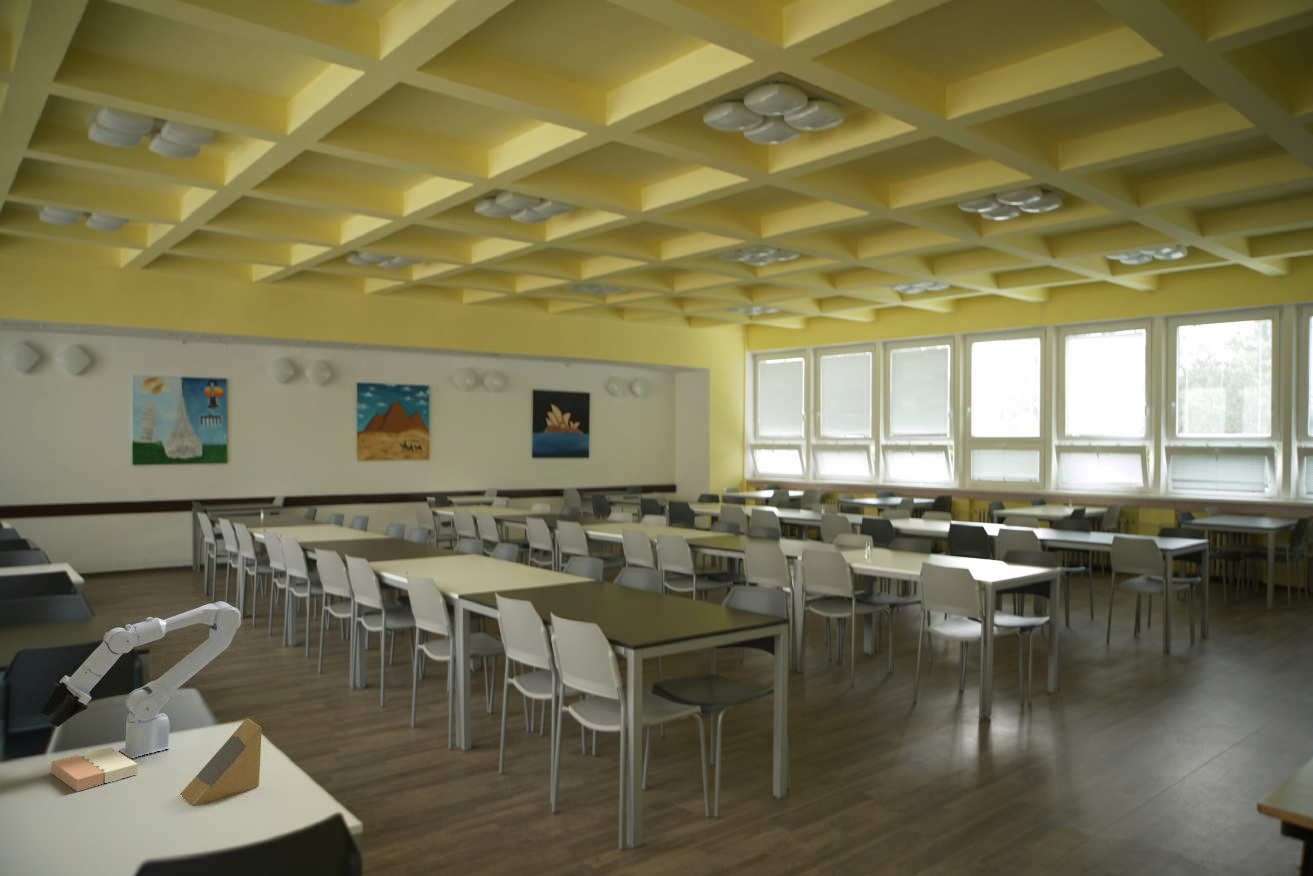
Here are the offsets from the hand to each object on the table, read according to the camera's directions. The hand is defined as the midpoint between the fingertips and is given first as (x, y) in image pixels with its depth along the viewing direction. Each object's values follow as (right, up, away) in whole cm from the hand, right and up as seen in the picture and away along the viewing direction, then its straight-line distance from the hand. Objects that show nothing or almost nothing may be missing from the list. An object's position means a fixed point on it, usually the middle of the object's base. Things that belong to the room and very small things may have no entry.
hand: (48, 719), depth 208 cm
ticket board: (+14, -13, +1) cm, 19 cm away
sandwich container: (+46, -15, -7) cm, 49 cm away
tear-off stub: (+10, -13, -4) cm, 17 cm away
